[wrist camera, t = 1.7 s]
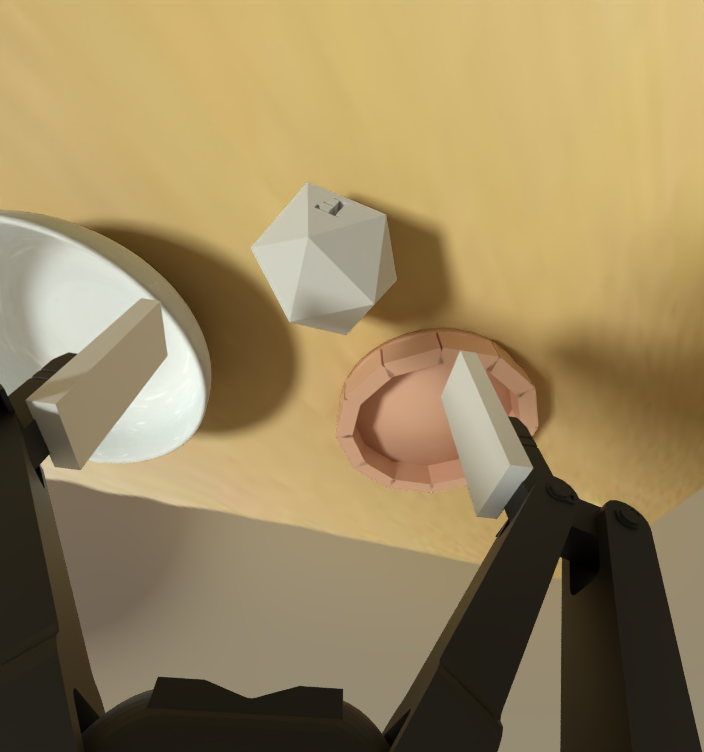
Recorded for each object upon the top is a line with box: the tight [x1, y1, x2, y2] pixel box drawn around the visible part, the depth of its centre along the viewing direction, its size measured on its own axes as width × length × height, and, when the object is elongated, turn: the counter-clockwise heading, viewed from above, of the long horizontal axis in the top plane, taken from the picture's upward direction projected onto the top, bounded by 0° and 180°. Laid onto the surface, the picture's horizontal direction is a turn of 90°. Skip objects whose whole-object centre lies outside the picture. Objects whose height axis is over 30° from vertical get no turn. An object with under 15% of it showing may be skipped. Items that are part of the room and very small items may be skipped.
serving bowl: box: [0, 210, 212, 463], centre depth 29 cm, size 21×21×7 cm
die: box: [251, 182, 397, 335], centre depth 24 cm, size 8×9×10 cm
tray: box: [336, 329, 538, 493], centre depth 36 cm, size 18×18×4 cm
